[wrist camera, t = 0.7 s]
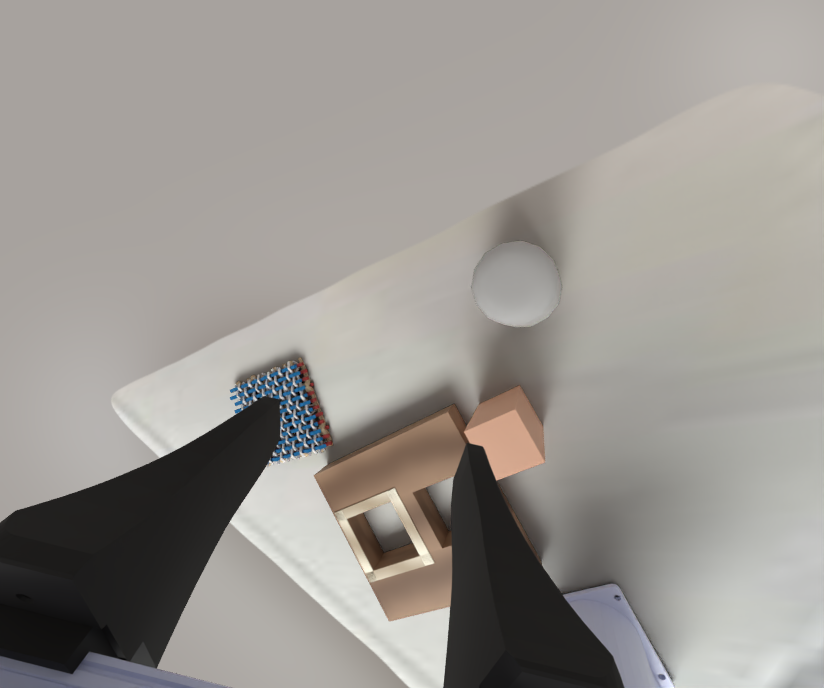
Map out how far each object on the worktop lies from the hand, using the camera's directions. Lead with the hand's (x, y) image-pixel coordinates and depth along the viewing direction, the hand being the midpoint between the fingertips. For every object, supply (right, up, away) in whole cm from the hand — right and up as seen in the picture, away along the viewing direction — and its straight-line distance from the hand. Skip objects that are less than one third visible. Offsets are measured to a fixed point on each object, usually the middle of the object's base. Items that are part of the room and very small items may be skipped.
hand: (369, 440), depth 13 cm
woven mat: (-12, -4, +26) cm, 29 cm away
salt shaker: (+11, +8, +16) cm, 21 cm away
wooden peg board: (+3, -13, +21) cm, 25 cm away
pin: (+10, -3, +17) cm, 20 cm away
